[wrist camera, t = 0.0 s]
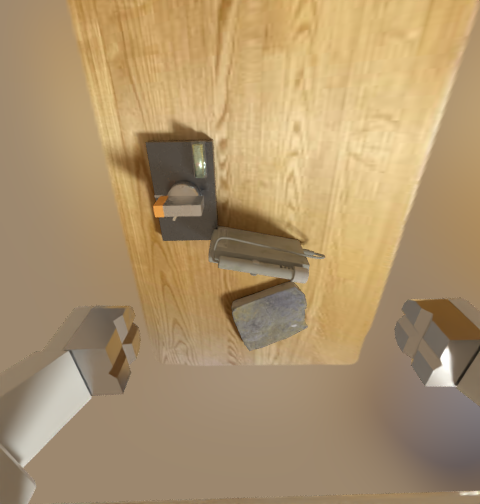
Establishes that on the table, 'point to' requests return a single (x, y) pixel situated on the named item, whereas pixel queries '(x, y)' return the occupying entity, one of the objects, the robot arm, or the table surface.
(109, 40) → the table surface
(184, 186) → the knob
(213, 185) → the stand
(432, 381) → the robot arm
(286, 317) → the grey stone slab
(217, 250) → the geiger counter
